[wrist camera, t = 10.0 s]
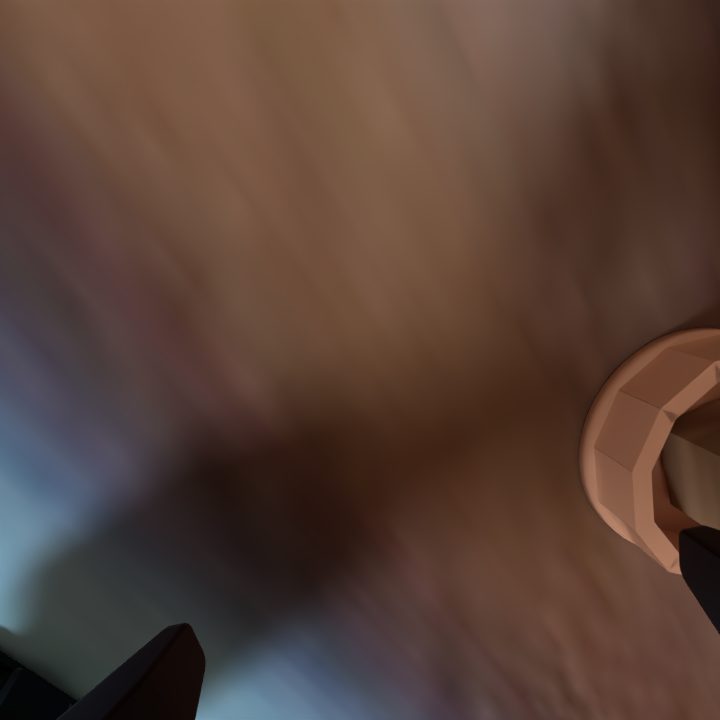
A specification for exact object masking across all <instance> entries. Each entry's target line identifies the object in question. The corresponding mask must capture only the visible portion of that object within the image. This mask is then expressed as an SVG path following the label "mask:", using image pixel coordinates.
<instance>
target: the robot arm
mask: <svg viewBox="0 0 720 720" xmlns="http://www.w3.org/2000/svg"><path fill="white" fill-rule="evenodd" d="M679 566H680V571H681V573H682V576H683V578H684V580H685V582H686V584H687V585H688V587H689V588H690V590H691V591H692V593H693V594H694V596H695V597H696V599H697V600H698V602H699V604H700V605H701V607H702V608H703V610H704V611H705V613H706V614H707V616H708V617H709V619H710V620H711V622H712V624H713V625H714V627H715V628H716V630H717V631H718V633H719V634H720V530H718V529H715V528H712V527H709V526H705V525H699V526H693V527H688V528H683V529H682V530H681V531H680V532H679ZM204 672H205V655H204V652H203V650H202V648H201V646H200V644H199V641H198V639H197V637H196V635H195V633H194V631H193V629H192V627H191V626H190V625H189V624H187V623H183V624H177V625H172V626H168V627H167V628H165V629H164V630H163V631H161V632H160V633H159V634H158V635H157V636H155V637H154V638H153V639H152V640H151V641H149V642H148V643H147V644H146V645H145V646H144V647H142V648H141V649H140V650H139V651H138V652H136V653H135V654H134V655H133V656H132V657H130V658H129V659H128V660H127V661H126V662H125V663H123V664H122V665H121V666H120V667H119V668H117V669H116V670H115V671H114V672H113V673H111V674H110V675H109V676H108V677H107V678H105V679H104V680H103V681H102V682H101V683H100V684H98V685H97V686H96V687H95V688H94V689H92V690H91V691H90V692H89V693H88V694H86V695H85V696H84V697H83V698H82V699H81V700H79V701H78V702H77V701H76V700H74V699H73V698H71V697H70V696H68V695H67V694H65V693H64V692H62V691H61V690H59V689H58V688H56V687H55V686H53V685H52V684H50V683H49V682H47V681H46V680H44V679H43V678H41V677H40V676H38V675H37V674H35V673H34V672H32V671H31V670H29V669H28V668H26V667H25V666H23V665H21V664H20V663H18V662H17V661H15V660H14V659H12V658H11V657H9V656H8V655H6V654H5V653H3V652H2V651H0V720H195V718H196V713H197V708H198V703H199V697H200V692H201V687H202V682H203V677H204Z"/></svg>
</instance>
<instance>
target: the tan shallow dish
mask: <svg viewBox="0 0 720 720" xmlns="http://www.w3.org/2000/svg"><path fill="white" fill-rule="evenodd" d="M719 399H720V329H716V328H691V329H685V330H680V331H677V332H674V333H670V334H667V335H665V336H662V337H660V338H658V339H656V340H654V341H652V342H650V343H648V344H647V345H645V346H643V347H642V348H640V349H639V350H637V351H636V352H635V353H634V354H632V355H631V356H630V357H628V358H627V359H626V360H625V361H624V362H623V363H622V364H621V365H620V366H619V367H618V368H617V369H616V370H615V371H614V372H613V373H612V374H611V376H610V377H609V378H608V379H607V381H606V382H605V383H604V385H603V386H602V388H601V389H600V391H599V392H598V394H597V395H596V397H595V399H594V401H593V403H592V405H591V407H590V409H589V411H588V414H587V417H586V420H585V422H584V425H583V430H582V434H581V438H580V446H579V471H580V477H581V482H582V485H583V488H584V492H585V494H586V496H587V498H588V500H589V502H590V504H591V506H592V507H593V509H594V510H595V512H596V513H597V514H598V516H599V517H600V518H601V519H602V520H603V521H604V522H605V523H606V524H608V525H609V526H610V527H611V528H612V529H613V530H615V531H616V532H617V533H618V534H620V535H621V536H622V537H624V538H625V539H626V540H628V541H630V542H632V543H634V544H636V545H638V546H639V547H640V548H641V549H643V550H644V551H645V552H646V553H647V554H648V555H650V556H651V557H652V558H653V559H654V560H655V561H657V562H658V563H659V564H660V565H661V566H663V567H664V568H665V569H666V570H667V571H669V572H672V573H677V574H681V575H682V573H681V571H680V566H679V532H680V531H681V530H682V529H683V528H688V527H693V526H699V525H701V524H699V523H698V522H696V521H695V520H693V519H692V518H690V517H689V516H687V515H686V514H684V513H683V512H681V511H680V510H678V509H677V508H675V507H674V506H672V505H671V504H670V499H669V493H668V488H667V483H666V478H665V473H664V468H663V463H662V458H661V450H662V448H663V446H664V444H665V441H666V439H667V437H668V435H669V433H670V431H671V428H672V426H673V424H674V422H675V420H676V419H677V418H678V417H679V416H680V415H682V414H684V413H687V412H689V411H692V410H694V409H697V408H699V407H702V406H704V405H707V404H709V403H712V402H714V401H717V400H719Z"/></svg>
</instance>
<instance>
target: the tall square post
mask: <svg viewBox="0 0 720 720" xmlns="http://www.w3.org/2000/svg"><path fill="white" fill-rule="evenodd" d="M661 458H662V463H663V468H664V473H665V478H666V483H667V488H668V493H669V499H670V504H671V505H672V506H674V507H675V508H677V509H678V510H680V511H681V512H683V513H684V514H686V515H687V516H689V517H690V518H692V519H693V520H695V521H696V522H698V523H699V524H701V525H705V526H709V527H712V528H715V529H718V530H720V399H719V400H717V401H714V402H712V403H709V404H707V405H704V406H702V407H699V408H697V409H694V410H692V411H689V412H687V413H684V414H682V415H680V416H679V417H678V418H677V419H676V420H675V422H674V424H673V426H672V428H671V431H670V433H669V435H668V437H667V439H666V441H665V444H664V446H663V448H662V450H661Z"/></svg>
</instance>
